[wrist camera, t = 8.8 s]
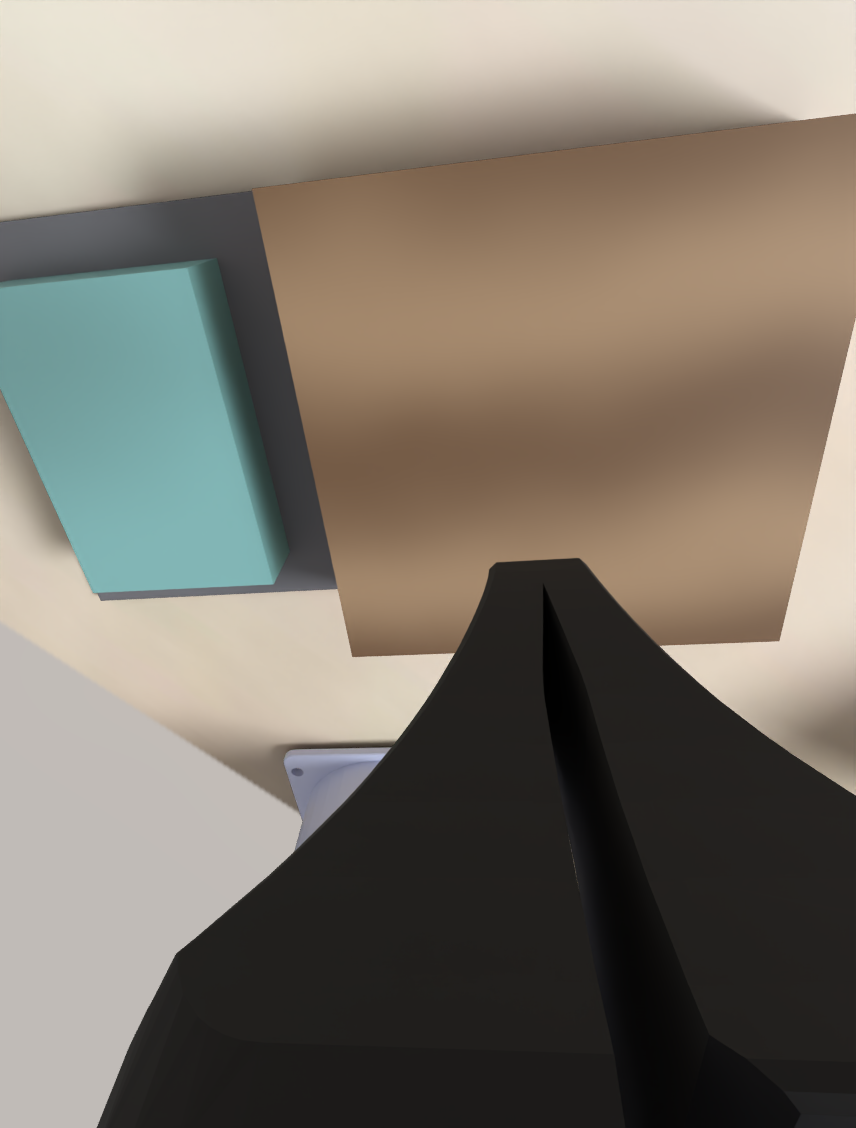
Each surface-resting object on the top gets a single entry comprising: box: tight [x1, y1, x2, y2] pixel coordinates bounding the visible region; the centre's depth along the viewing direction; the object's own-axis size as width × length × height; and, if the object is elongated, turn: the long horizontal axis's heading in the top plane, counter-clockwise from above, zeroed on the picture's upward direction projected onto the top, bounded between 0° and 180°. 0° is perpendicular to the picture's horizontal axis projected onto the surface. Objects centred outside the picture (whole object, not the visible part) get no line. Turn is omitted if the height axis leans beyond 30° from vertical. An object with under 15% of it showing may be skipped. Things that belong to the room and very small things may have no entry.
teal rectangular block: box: [0, 258, 290, 593], centre depth 18 cm, size 9×6×2 cm, turn 6°
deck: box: [252, 114, 856, 657], centre depth 17 cm, size 12×12×4 cm
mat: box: [0, 191, 338, 601], centre depth 19 cm, size 12×9×1 cm
